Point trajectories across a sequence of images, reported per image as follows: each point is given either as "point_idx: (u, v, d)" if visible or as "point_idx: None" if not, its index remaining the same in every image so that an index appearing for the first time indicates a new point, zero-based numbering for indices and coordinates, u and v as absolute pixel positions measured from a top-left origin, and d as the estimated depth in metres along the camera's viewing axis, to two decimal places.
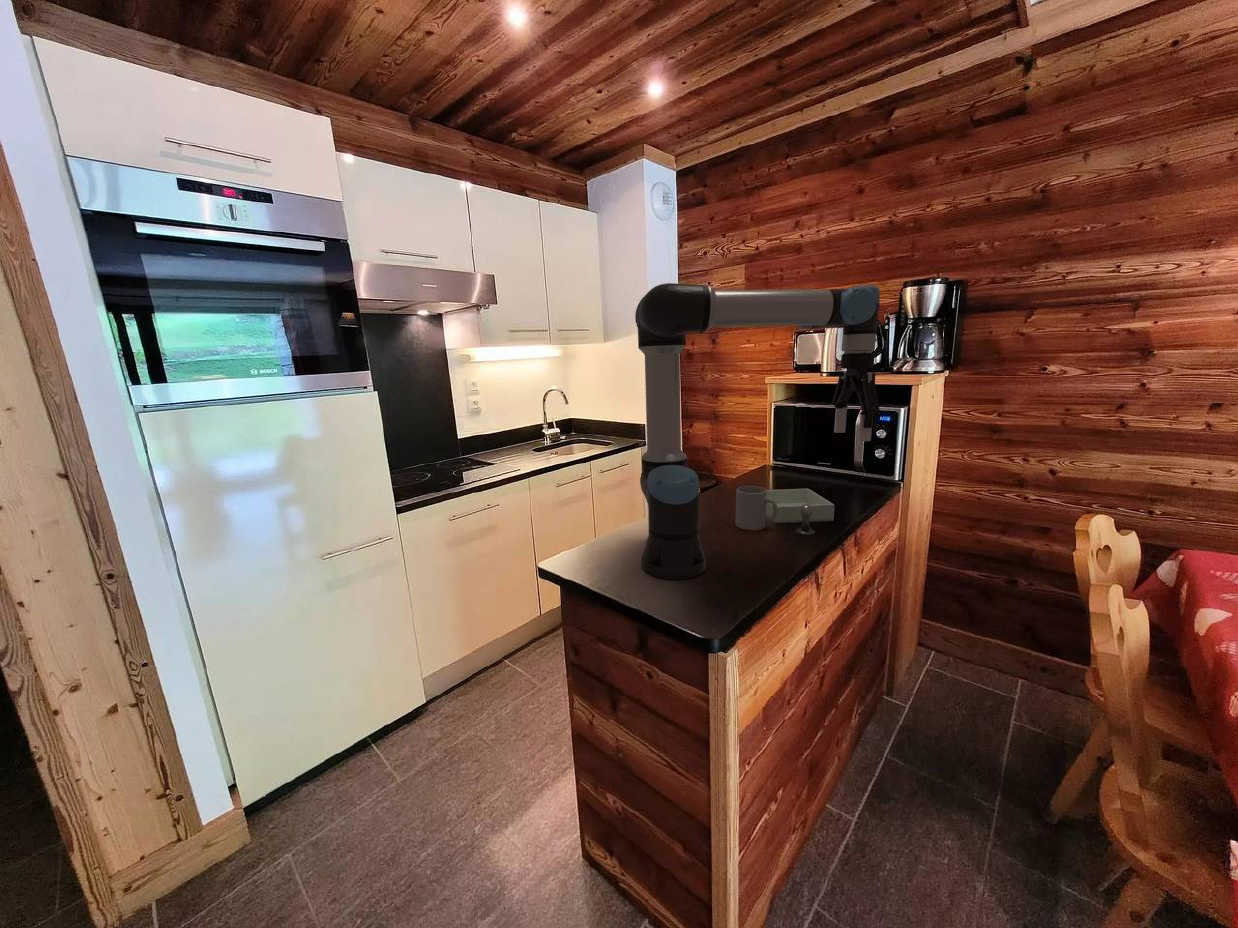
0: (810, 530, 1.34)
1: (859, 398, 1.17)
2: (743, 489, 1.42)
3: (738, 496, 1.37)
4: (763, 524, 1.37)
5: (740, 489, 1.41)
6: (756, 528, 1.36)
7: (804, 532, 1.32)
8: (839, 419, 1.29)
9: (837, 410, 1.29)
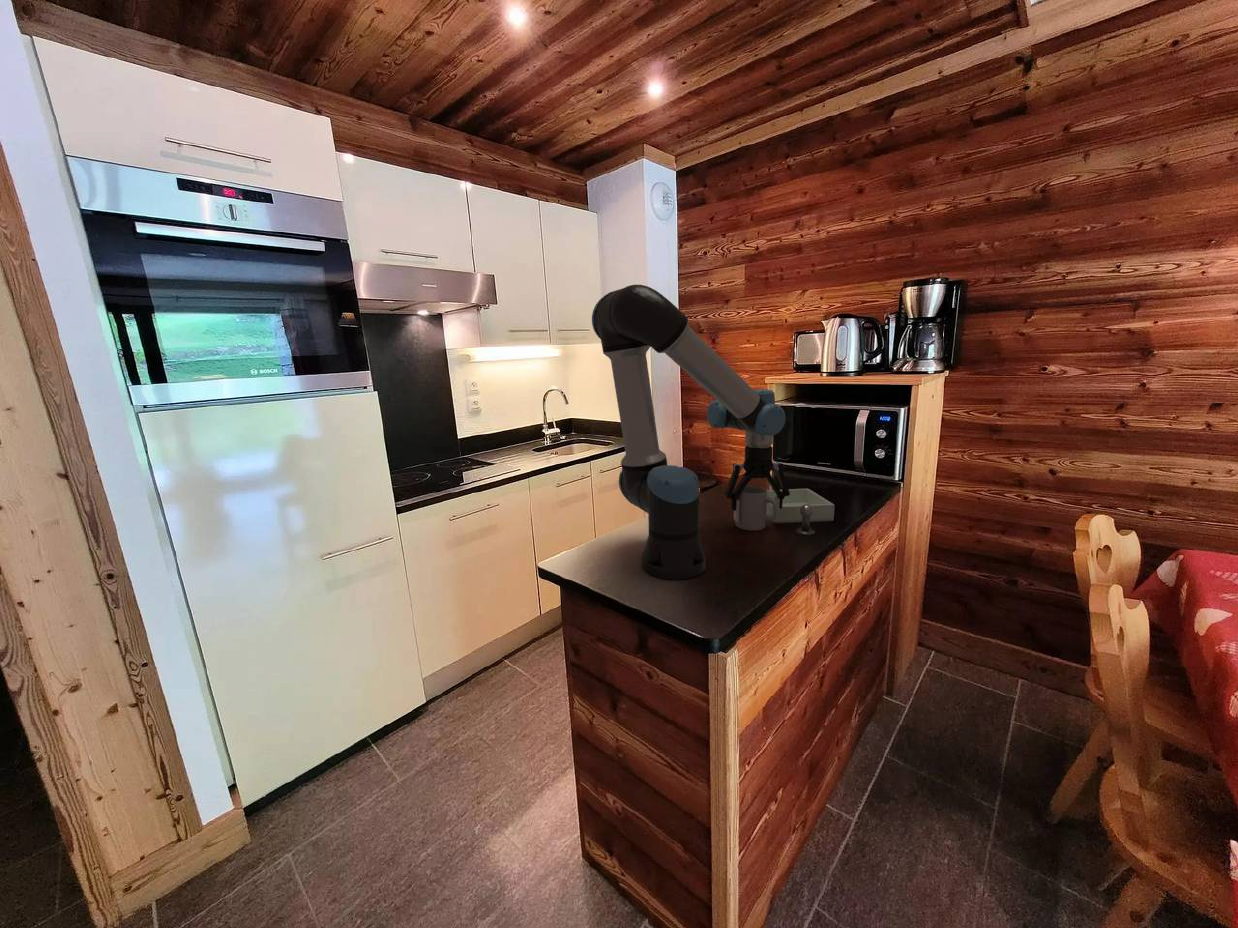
0: (810, 530, 1.34)
1: None
2: (743, 489, 1.42)
3: None
4: (763, 524, 1.37)
5: None
6: (756, 528, 1.36)
7: (804, 532, 1.32)
8: None
9: (774, 498, 1.39)
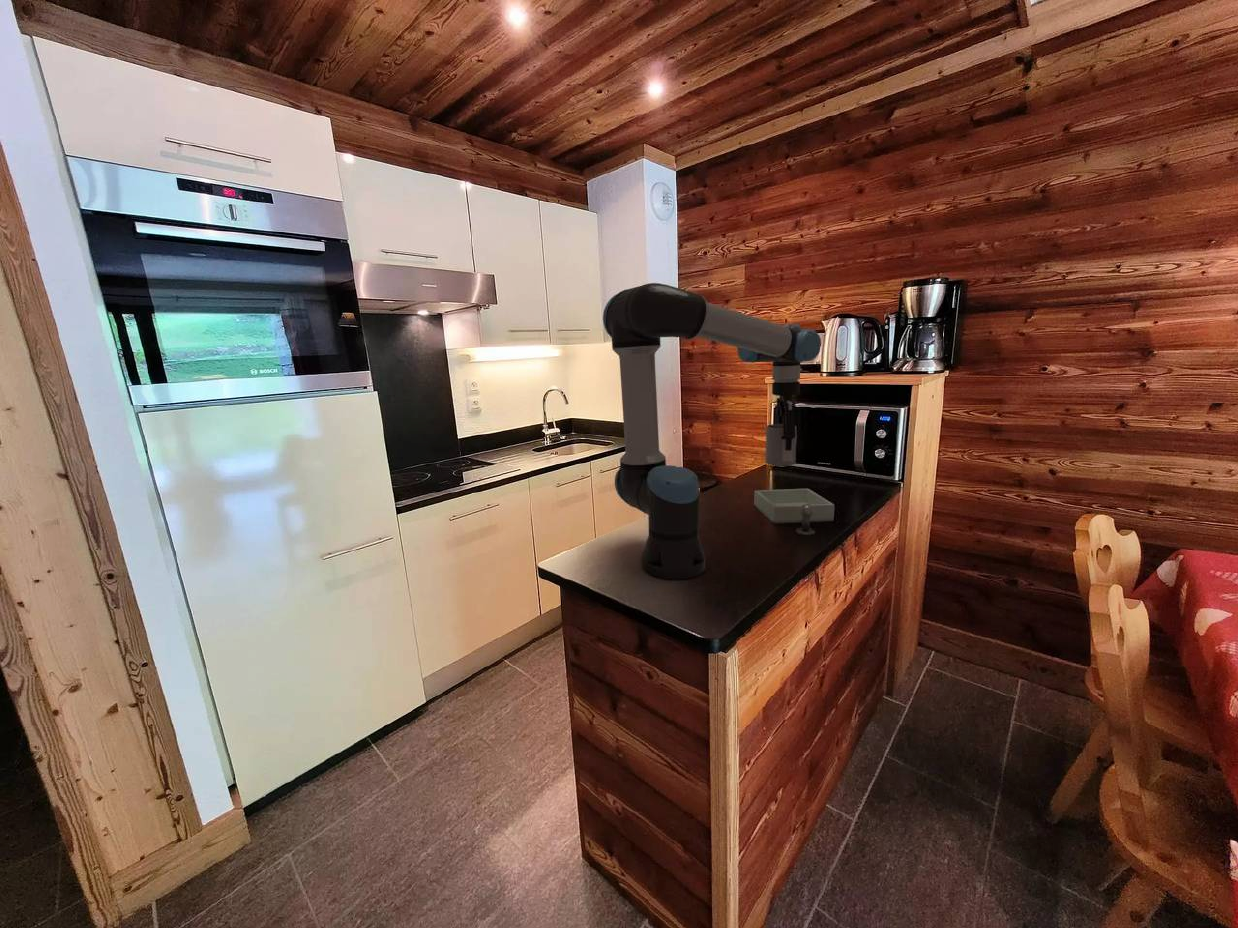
0: (810, 530, 1.34)
1: (783, 423, 1.36)
2: None
3: None
4: None
5: None
6: None
7: (804, 532, 1.32)
8: None
9: None
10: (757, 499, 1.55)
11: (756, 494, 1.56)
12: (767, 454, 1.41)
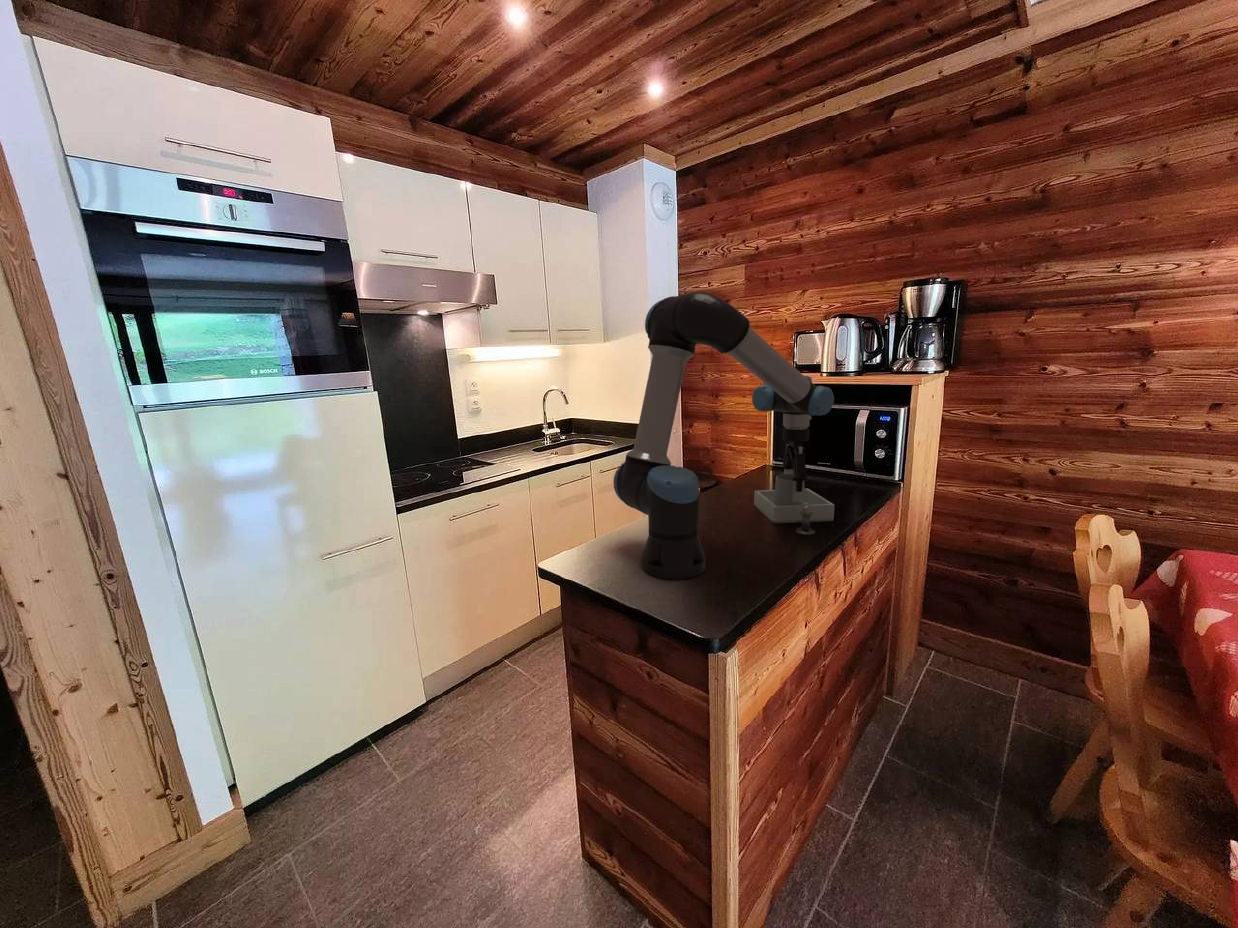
0: (810, 530, 1.34)
1: (793, 466, 1.42)
2: None
3: None
4: None
5: None
6: None
7: (804, 532, 1.32)
8: None
9: (785, 471, 1.54)
10: (757, 499, 1.55)
11: (756, 494, 1.56)
12: (776, 503, 1.49)
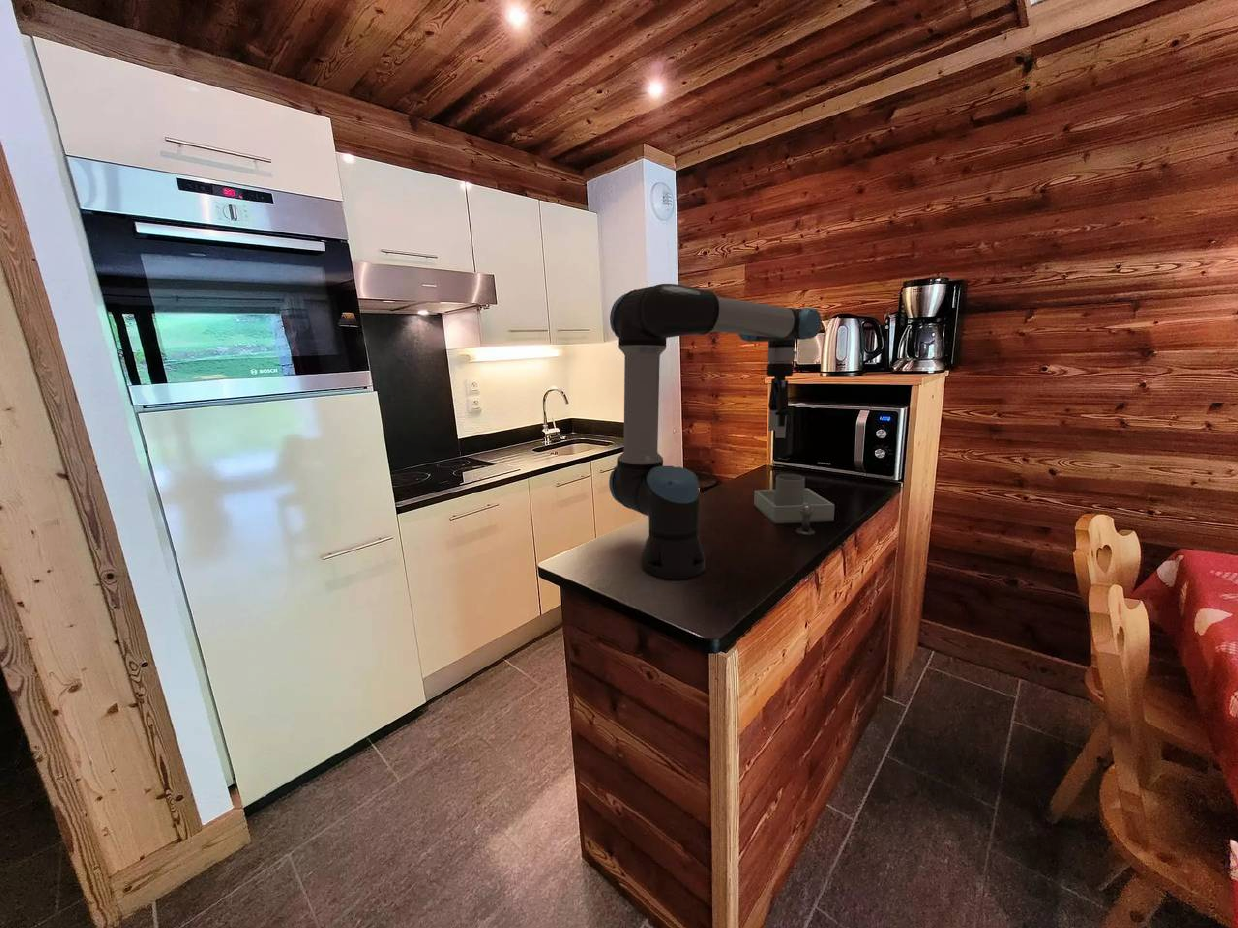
0: (810, 530, 1.34)
1: (777, 401, 1.39)
2: None
3: (796, 485, 1.44)
4: None
5: None
6: None
7: (804, 532, 1.32)
8: (772, 419, 1.52)
9: (770, 411, 1.51)
10: (757, 499, 1.55)
11: (756, 494, 1.56)
12: (776, 503, 1.49)
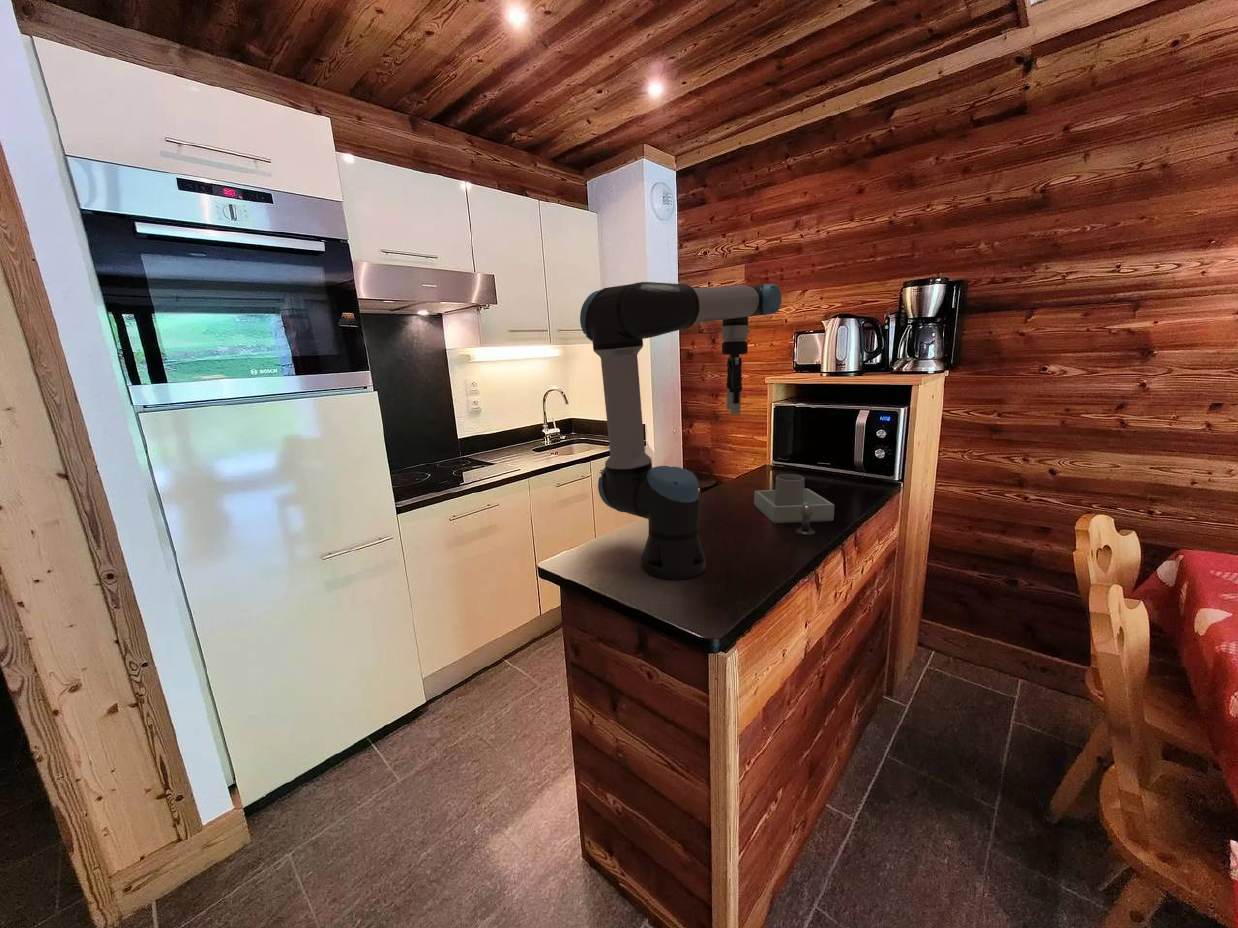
0: (810, 530, 1.34)
1: (731, 379, 1.41)
2: None
3: (795, 485, 1.44)
4: None
5: None
6: None
7: (804, 532, 1.32)
8: (729, 398, 1.53)
9: (727, 390, 1.53)
10: (757, 499, 1.55)
11: (756, 494, 1.56)
12: (776, 503, 1.49)
